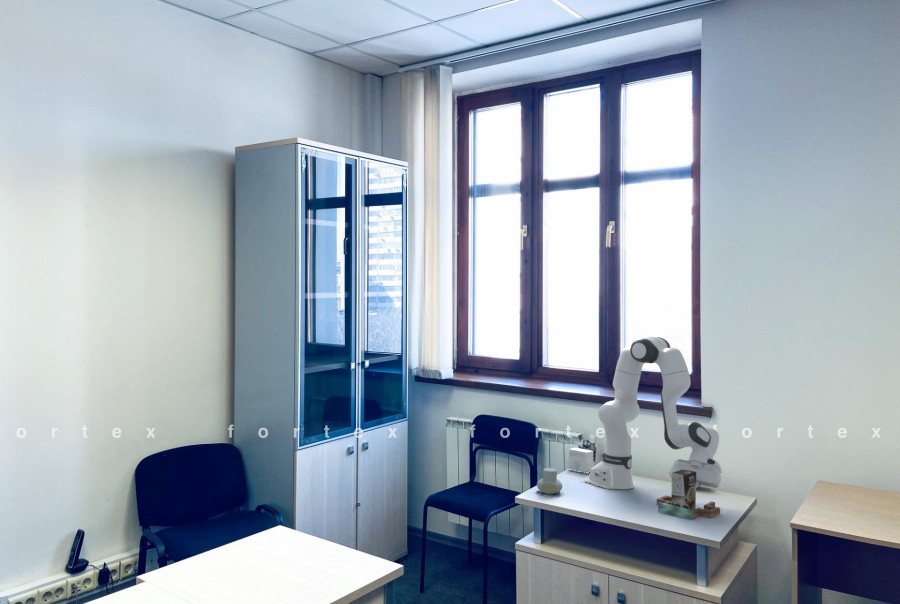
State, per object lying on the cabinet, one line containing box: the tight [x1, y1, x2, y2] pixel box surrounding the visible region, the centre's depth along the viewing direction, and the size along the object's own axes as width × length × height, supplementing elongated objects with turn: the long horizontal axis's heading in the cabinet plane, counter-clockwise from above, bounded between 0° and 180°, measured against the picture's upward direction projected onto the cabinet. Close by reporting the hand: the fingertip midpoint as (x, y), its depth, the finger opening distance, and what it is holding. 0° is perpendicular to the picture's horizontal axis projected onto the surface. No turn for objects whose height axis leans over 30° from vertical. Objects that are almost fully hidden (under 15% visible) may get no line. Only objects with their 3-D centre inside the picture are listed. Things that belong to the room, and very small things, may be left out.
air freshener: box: [536, 467, 563, 495], centre depth 296 cm, size 11×8×10 cm
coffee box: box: [671, 469, 697, 510], centre depth 271 cm, size 9×6×16 cm
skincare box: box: [568, 447, 594, 473], centre depth 335 cm, size 10×6×10 cm, turn 44°
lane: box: [656, 494, 721, 521], centre depth 274 cm, size 23×22×4 cm
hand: (688, 491), depth 275 cm, fingers closed, pressing on coffee box
